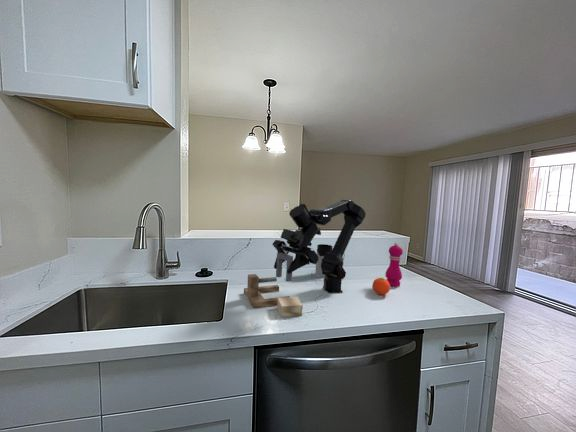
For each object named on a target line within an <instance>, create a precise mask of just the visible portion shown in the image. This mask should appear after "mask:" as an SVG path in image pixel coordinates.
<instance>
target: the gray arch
mask: <svg viewBox="0 0 576 432" xmlns="http://www.w3.org/2000/svg"><path fill="white" fill-rule="evenodd" d="M276 258H277V265H276V269H275V270H276V271H275V277H276V278H282V275H283V274H282V273H283V263H282V259H283V260H285V262H286V269H285V270H286V272H285V273H286V275H285V282H292V281H293V272H291V273H290V274H288V273H287V270H288V268H289V267H290V265H291V264H292V262H293V260H294V256H293V255H290V254H284V253H278V252H277V253H276Z"/></svg>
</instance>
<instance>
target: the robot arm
mask: <svg viewBox="0 0 576 432" xmlns="http://www.w3.org/2000/svg"><path fill="white" fill-rule="evenodd" d="M307 207H308V206H307V205H306V203H300V204H299V205H296V206H294V208H291V210H290V211H289V213H288V214H289V216H290V218H291V219H292V221H293V222H294V224H295V225H296V227H298V228H300V229H296V230H290V229H286V228H283V229H282V232H281V235H280V239H283V240H279V239H275V240H274V241H273V243H272V246H273V248H275V250H276V251H277V253H284V254H287V255H289V253H292V254H295V257H294V258H293V262H292V264H291V265H290V267H289V268H288V270H287V273H288V274H290V273H291V272H292V273H293V272H295V271H297V270H299V269H301V268H302V267H304V266H306V265H310V264H312V265H316V263H317V262H318V259H319V257H318V255H317V251H316V250H315V249H314V248H313V247H312V245H313V244H312V240H313V239H314V237H315V236H316V235H319V236H321V235H322V232H321V227H318V225H321V226H326V225H327V224H329V223H330V222H331V221H332V218H333V217H336V216H338V215H340V214H343V220H344V224H343V226H342V228H341V231H340V232H339V235H338V236H337V239H336V241H335V242H334V246H333V248H332V251H331V252H330V253H327V252H326V253H325V255H324V257H323V259H322V260H321V261H322V262H321V269H322V274H324V275H325V278H323V285H322V288H323V290H325V291H326V292H327V293H328V294H336V293H337V294H339V293H343V290H342V280H344V278H346V274H347V272H346V270H345V269H344V260H343V258H344V254H345V251H346V249H347V248H348V245H349V243H350V240H351V238H352V236H353V234H354V232H355V230H356V228H357V227H359V226H360V225H361V224H362V223H363V221H364V220H365V217H366V211H365V210H364V209H363V208H362V207H361V206H360V205H358V204H356V203H355V202H354V201H353V200H351V199H341V200H340V201H338V202H336V203H332V204H330V205H328V206H326V207H317V208H312V209H310V210H308V208H307ZM284 240H285V241H286V242H285V241H284ZM286 243H287V244H286ZM284 262H286V260H283V259H282V264H284ZM276 265H277V257H276V258H275V261H274V265H273V268H274V269H275V270H276Z"/></svg>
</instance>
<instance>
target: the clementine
mask: <svg viewBox="0 0 576 432" xmlns="http://www.w3.org/2000/svg"><path fill="white" fill-rule="evenodd" d="M386 279H387V278H384V277H377V278H375V279H374V280H373V281H372V286H371V287H372V290H373V292H374V293H376V295H380V296H384V295H385V296H386V295H387V294H388V293H389V292H390V290H391V286H390V284H389V282H388V281H387V280H386Z"/></svg>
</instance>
